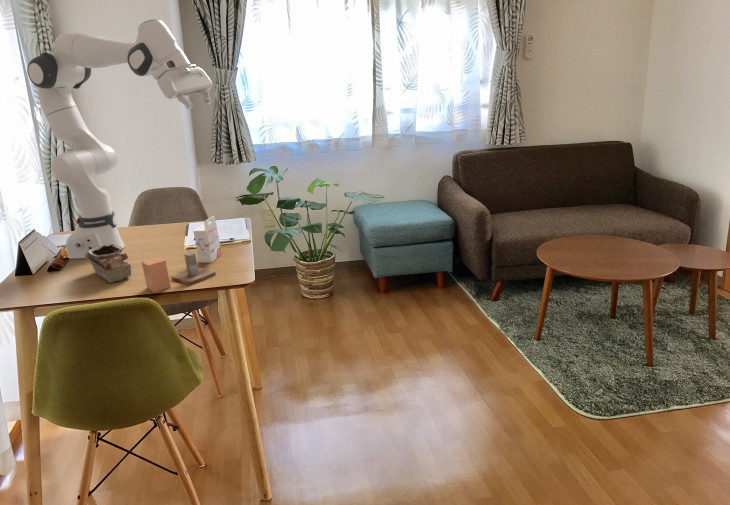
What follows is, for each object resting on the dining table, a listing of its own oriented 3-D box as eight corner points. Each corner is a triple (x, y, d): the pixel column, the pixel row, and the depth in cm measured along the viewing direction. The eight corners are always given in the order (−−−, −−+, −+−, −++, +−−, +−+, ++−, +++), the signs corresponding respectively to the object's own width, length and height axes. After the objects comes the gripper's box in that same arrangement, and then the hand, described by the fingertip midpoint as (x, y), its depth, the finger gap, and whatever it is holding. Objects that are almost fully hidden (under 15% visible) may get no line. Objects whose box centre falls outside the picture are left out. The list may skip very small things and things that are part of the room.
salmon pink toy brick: (147, 287, 198) (141, 261, 195) (164, 282, 201) (158, 256, 198) (153, 292, 194) (147, 265, 191) (170, 287, 197) (165, 260, 194)
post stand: (171, 279, 203) (167, 256, 201) (197, 269, 211) (193, 246, 208) (190, 285, 197) (185, 261, 195) (215, 274, 204) (211, 251, 202)
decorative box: (93, 290, 200) (86, 262, 197) (79, 274, 216) (72, 247, 212) (134, 278, 207) (128, 251, 204) (117, 263, 223) (112, 238, 219)
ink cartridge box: (209, 254, 225) (202, 214, 220) (221, 254, 223) (215, 214, 218) (198, 262, 217) (191, 222, 212) (211, 262, 216) (204, 222, 211)
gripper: (191, 69, 207) (213, 105, 209) (148, 76, 190) (173, 115, 191) (203, 58, 204) (225, 95, 205) (160, 64, 187) (185, 105, 188)
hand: (200, 105), depth 198 cm, fingers open, 8 cm apart
